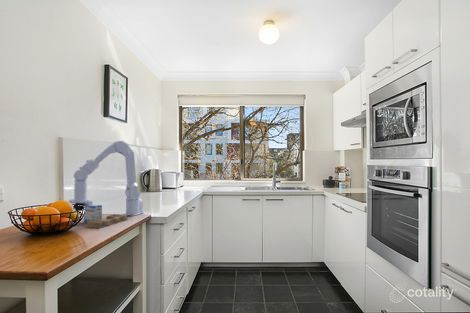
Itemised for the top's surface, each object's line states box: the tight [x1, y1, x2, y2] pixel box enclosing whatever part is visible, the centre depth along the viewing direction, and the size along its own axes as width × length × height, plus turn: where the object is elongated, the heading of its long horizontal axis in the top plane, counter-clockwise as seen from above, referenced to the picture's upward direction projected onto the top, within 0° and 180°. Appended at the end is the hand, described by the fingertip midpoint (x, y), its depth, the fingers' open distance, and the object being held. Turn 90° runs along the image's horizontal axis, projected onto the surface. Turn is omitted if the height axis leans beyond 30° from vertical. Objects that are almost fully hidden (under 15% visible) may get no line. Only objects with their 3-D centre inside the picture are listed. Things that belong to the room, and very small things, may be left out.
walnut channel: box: [86, 213, 128, 229], centre depth 139 cm, size 18×8×2 cm, turn 161°
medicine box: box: [83, 204, 103, 223], centre depth 142 cm, size 8×4×9 cm, turn 73°
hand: (80, 217), depth 145 cm, fingers closed
